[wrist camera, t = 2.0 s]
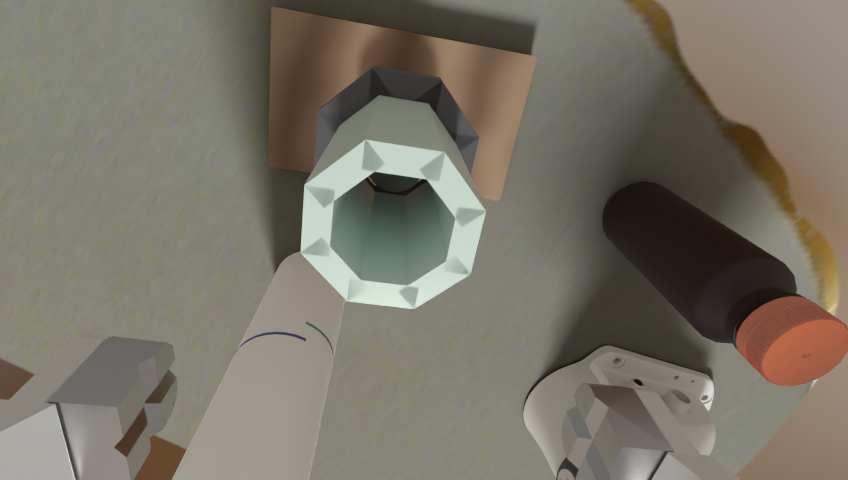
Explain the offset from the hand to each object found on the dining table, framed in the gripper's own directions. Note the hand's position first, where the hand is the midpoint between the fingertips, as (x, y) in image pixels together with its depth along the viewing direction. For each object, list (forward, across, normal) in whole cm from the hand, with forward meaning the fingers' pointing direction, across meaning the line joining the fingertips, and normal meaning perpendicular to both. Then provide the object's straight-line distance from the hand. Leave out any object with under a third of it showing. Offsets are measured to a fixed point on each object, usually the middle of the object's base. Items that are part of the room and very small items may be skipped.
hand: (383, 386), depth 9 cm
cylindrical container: (+32, -6, -18) cm, 37 cm away
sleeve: (+17, 0, 0) cm, 17 cm away
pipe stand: (+32, 0, 0) cm, 32 cm away
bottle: (+32, +24, -6) cm, 40 cm away
